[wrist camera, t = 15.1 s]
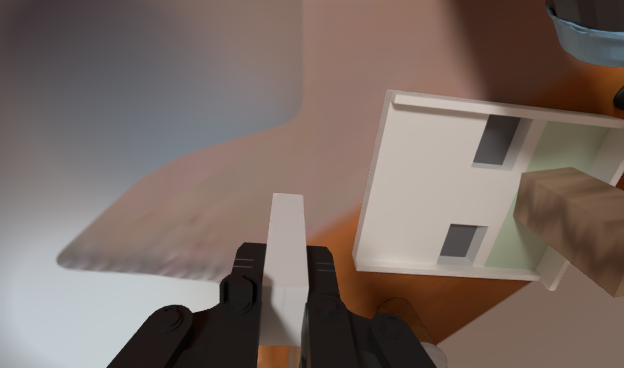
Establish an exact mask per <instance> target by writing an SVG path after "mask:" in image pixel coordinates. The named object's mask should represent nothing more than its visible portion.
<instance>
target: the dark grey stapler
mask: <svg viewBox="0 0 624 368" xmlns="http://www.w3.org/2000/svg"><path fill="white" fill-rule="evenodd" d="M614 103H615V105H616V106H617V108H618V109H620V110H624V86H623V87H622V88H621V89H620V90H619V91H618V93H617V94H616V96H615V99H614Z"/></svg>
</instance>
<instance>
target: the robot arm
mask: <svg viewBox="0 0 624 368" xmlns="http://www.w3.org/2000/svg"><path fill="white" fill-rule="evenodd" d="M545 6H546V10H547V13H548V15H549V16H550V17H551V18H552V19H553V22H554V25H555V29H556V32H557V35H558V39H559V42H560V45H561V46H562V48H563V49H564V50H565V51H566V52H567V53H569V54H571V55H573V56H574V57H575V58H577V59H578V60H580V61H583V62H586V63H590V64H594V65H600V66H609V67H624V0H546V3H545ZM300 344H301V357H300V363H299V368H437V367H436V365H435V364H434V362H433V361H432V359H431V358H430V356H429V355H428V353H427V352H426V350H425V349H424V347H423V346H422V345H421V343H420V342H419V340H418V339H417V337H416V336H415V334H414V333H413V331H412V330H411V328H410V327H409V325H408V324H407V323H406V322H405V321H404V320H403V319H401V318H400V317H398V316H397V315H394V314H391V313H379V314H376V315H375V316H374V317H373V318H372V319H367V318H364V317H361V316H358V315H356V314H354V313H352V312H351V311H349V310H348V309H347V308H346V306H345V304H344V303H343V302H342V301H341V299H340V294H339V289H338V283H337V278H336V272H335V267H334V261H333V256H332V254H331V252H330V251H329V250H328V248H327V247H322V246H306V237H305V221H304V206H303V195H295V194H283V193H273V200H272V208H271V217H270V225H269V233H268V241H267V244H262V243H246V242H244V243H243V244H242V245H241V246H240V247H239V248H238V250H237V253H236V257H235V261H234V265H233V269H232V272H231V274H230V275H228V276H226V277H225V278H224V279H223V280H222V282H221V283H220V303H219V304H217V305H216V306H214V307H213V308H211V309H207V310H204V311H199V312H195V313H192V312H191V311H190V310H189V308H187V307H185V306H182V305H169V306H165V307H162V308H160V309H158V310H157V311H155V312H154V313H153V314H152V315H151V316H149V317H148V319H147V320H146V321H145V322H144V323H143V325H142V326H141V327H140V328H139V329H138V331H137V332H136V333H135V334H134V335H133V337H132V338H131V339H130V340H129V341H128V342H127V344H126V345H125V346H124V347H123V349H122V350H121V351H120V352H119V353H118V354H117V356H116V357H115V358H114V359H113V360H112V362H111V363H110V364H109V365H108V366H107V368H257V359H258V347H259V345H273V346H300Z"/></svg>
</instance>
